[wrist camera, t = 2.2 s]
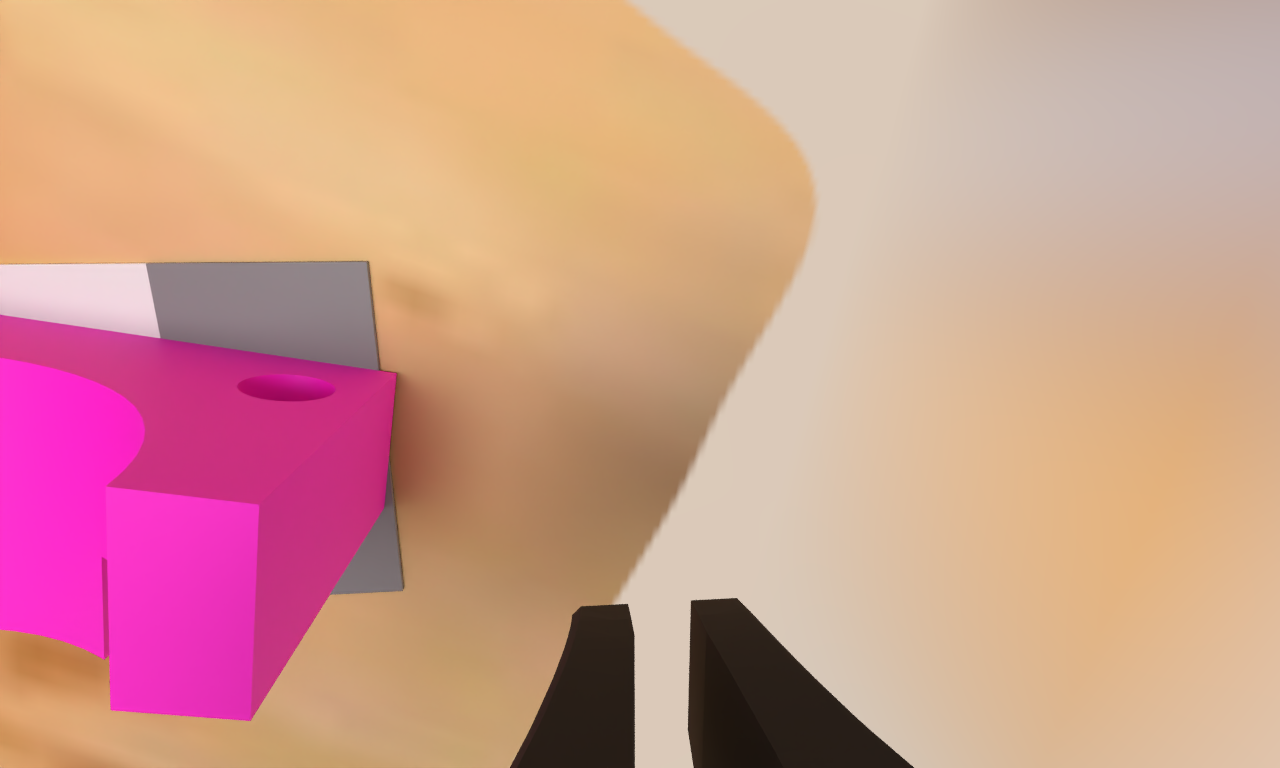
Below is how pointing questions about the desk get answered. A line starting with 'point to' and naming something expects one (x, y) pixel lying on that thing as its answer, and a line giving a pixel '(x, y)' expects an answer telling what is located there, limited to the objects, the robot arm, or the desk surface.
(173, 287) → the board
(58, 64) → the desk surface
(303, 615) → the toy block
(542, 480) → the desk surface
